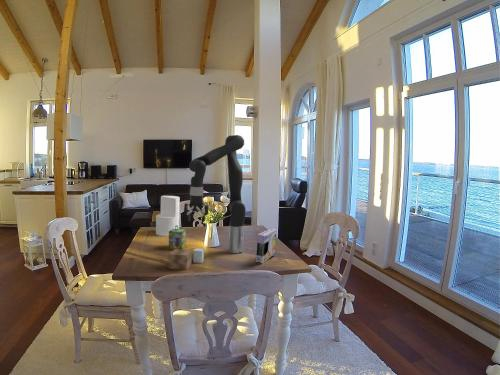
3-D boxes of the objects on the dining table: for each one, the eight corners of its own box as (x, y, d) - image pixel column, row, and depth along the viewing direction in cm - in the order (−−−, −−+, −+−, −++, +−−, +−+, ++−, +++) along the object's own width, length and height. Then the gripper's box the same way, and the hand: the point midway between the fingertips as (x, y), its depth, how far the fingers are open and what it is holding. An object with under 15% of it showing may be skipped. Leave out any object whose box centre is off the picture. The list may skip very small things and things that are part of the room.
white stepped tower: (168, 229, 262) (169, 195, 259) (183, 233, 252) (184, 197, 249) (151, 233, 248) (151, 196, 245) (165, 237, 238) (166, 199, 235)
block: (203, 260, 192) (204, 248, 191) (201, 262, 187) (202, 251, 186) (195, 259, 192) (195, 248, 192) (193, 262, 188) (193, 250, 187)
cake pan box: (261, 265, 189) (263, 235, 187) (254, 263, 191) (255, 233, 189) (275, 256, 205) (277, 229, 203) (268, 255, 208) (270, 228, 206)
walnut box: (191, 263, 185) (191, 250, 184) (186, 269, 175) (187, 255, 174) (174, 262, 186) (174, 248, 185) (168, 268, 176) (168, 254, 175)
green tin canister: (181, 249, 210) (182, 227, 208) (168, 248, 211) (168, 226, 209) (186, 245, 219) (186, 224, 218) (172, 244, 220) (173, 223, 218)
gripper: (210, 194, 191) (209, 221, 193) (187, 192, 194) (186, 219, 195) (206, 196, 184) (205, 224, 185) (182, 194, 186) (181, 221, 188)
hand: (195, 221), depth 190 cm, fingers open, 8 cm apart
